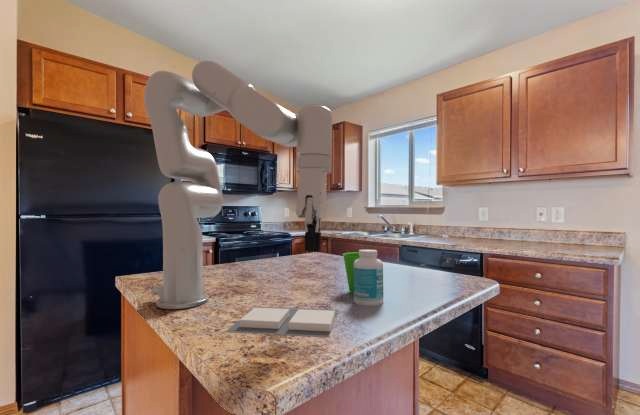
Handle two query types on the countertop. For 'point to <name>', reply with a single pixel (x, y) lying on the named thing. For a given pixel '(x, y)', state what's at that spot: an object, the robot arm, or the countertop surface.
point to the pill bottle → (368, 279)
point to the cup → (350, 268)
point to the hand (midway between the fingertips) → (312, 250)
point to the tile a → (265, 318)
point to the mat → (283, 329)
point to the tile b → (312, 320)
